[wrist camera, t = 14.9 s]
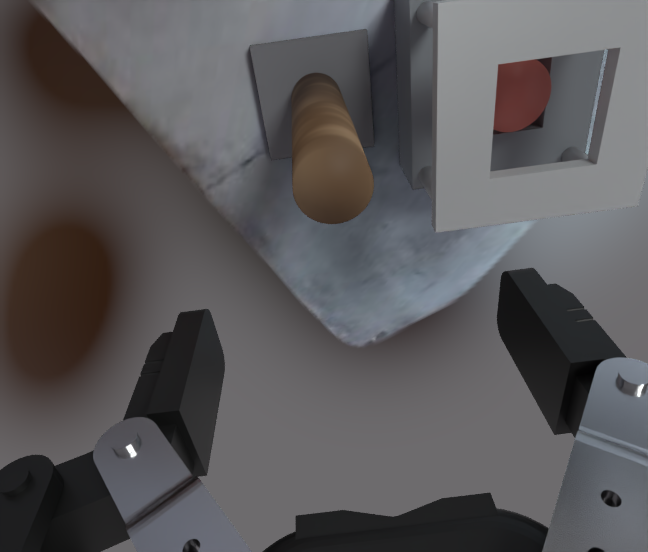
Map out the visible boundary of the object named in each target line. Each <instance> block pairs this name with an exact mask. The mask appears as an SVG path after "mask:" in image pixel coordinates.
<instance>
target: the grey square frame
mask: <svg viewBox="0 0 648 552" xmlns="http://www.w3.org/2000/svg"><path fill="white" fill-rule="evenodd" d="M394 9H395V39H396V69H397V99H398V128H399V158H400V166H401V168H402V170H403V172H404V174H405V176H406V178H407V180H408V181H409V183H410V185H411V187H412V189H413V190H414V189H422V188H425V190H426V191H427V193H428V195H429V197H430V198H431V200H432V227H433V229H434V230H435V232H436V233H438V232H446V231H453V230H461V229H469V228H476V227H484V226H491V225H499V224H507V223H514V222H522V221H529V220H537V219H544V218H552V217H559V216H567V215H575V214H582V213H589V212H598V211H605V210H613V209H620V208H628V207H635V206H638V204H639V200H640V195H641V192H642V188H643V185H644V181H645V177H646V173H647V170H648V0H394ZM606 49H608V54H607V60H606V65H605V70H604V75H603V80H602V86H601V91H600V96H599V101H598V107H597V112H596V117H595V122H594V127H593V133H592V138H591V143H590V148H589V154H588V155H587V154H585V149H586V144H587V139H588V133H589V128H590V123H591V117H592V112H593V107H594V101H595V96H596V90H597V85H598V80H599V74H600V69H601V64H602V58H603V53H604V50H606ZM534 59H535V60H537V61H539V62H541V63H542V64H543V65H544V66H545V68H546V69H547V71H548V72H549V75H550V78H551V94H550V98H549V101H548V103H547V106H546V107H545V109H544V111H543V112H542V113H541V115H540V116H539V117H538V118H537V119H536V120H535V121H534V122H533V123H531V124H530V125H529V126H527V127H525V128H523V129H521V130H518V131H514V132H500V131H496V130H494V129H493V127H494V113H495V100H496V87H497V74H498V64H505V63H512V62H519V61H526V60H534Z"/></svg>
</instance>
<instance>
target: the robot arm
mask: <svg viewBox="0 0 648 552" xmlns="http://www.w3.org/2000/svg"><path fill="white" fill-rule="evenodd" d="M497 324H498V330H499V333H500V336H501V339H502V341H503V342H504V344H505V346H506V348H507V350H508V351H509V353H510V355H511V357H512V359H513V360H514V362H515V364H516V366H517V368H518V370H519V371H520V373H521V375H522V377H523V378H524V380H525V382H526V384H527V386H528V388H529V390H530V391H531V393H532V395H533V397H534V399H535V400H536V402H537V404H538V406H539V408H540V410H541V411H542V413H543V415H544V416H545V419H546V420H547V422H548V424H549V426H550V428H551V429H552V431H553V433H554V435H557V434H565V433H572V434H573V436H574V437H575V441H574V445H573V448H572V452H571V455H570V458H569V462H568V465H567V469H566V472H565V475H564V479H563V483H562V486H561V489H560V492H559V496H558V499H557V503H556V506H555V510H554V513H553V517H552V520H551V523H550V527H549V528H547V527H546V526H544V525H543V524H541V523H539V522H537V521H535V520H532V519H531V518H529V517H526V516H523V515H521V514H518V513H515V512H511V511H507V510H504V509H497V508H496V507H495V504H494V501H493V499H492V496H491V493H484V494H475V495H468V496H458V497H450V498H442V499H439V500H437V501H434V502H432V503H430V504H427V505H424V506H422V507H419V508H417V509H414V510H412V511H409V512H407V513H404V514H402V515H399V516H395V517H390V516H382V515H375V514H368V513H360V512H353V511H346V510H340V511H332V512H324V513H315V514H307V515H298V516H296V532H293V533H291V534H289V535H287V536H285V537H283V538H281V539H279V540H278V541H276V542H275V543H273V544H272V545H270V546H269V547H268V548H266V549H265V550H264V551H263V552H648V364H647V363H645V362H642V361H639V360H635V359H631V358H627V357H626V356H625V355H624V354H623V353H622V352H621V350H620V349H619V348H618V347H617V346H616V344H615V343H614V342H613V341H612V340H611V338H610V337H609V336H608V335H607V334H606V333H605V331H604V330H603V329H602V328H601V326H600V325H599V324H598V323H597V322H596V321H595V320H593V317H592V316H591V315H590V313H589V312H588V311H587V310H585V309H584V306H583V305H582V304H581V303H580V302H579V300H578V299H577V298H576V297H575V296H574V294H572V293H571V292H569V291H567V290H566V289H564V288H562V287H560V286H559V285H557V284H549V285H547V284H546V283H545V281H544V280H543V279H542V277H541V276H540V275H539V274H538V272H537V271H536V270H535V269H534V268H528V269H520V270H512V271H505V272H503V273H502V276H501V282H500V292H499V302H498V312H497ZM224 371H225V362H224V354H223V350H222V347H221V344H220V340H219V338H218V334H217V331H216V328H215V325H214V322H213V319H212V315H211V313H210V311H209V310H208V309H203V310H196V311H188V312H181V313H180V314H179V315H178V318H177V321H176V325H175V327H174V330H173V332H168V333H163V334H162V335H161V336H160V337H159V338H158V339H157V340H156V341H155V343H154V344H153V345H152V346H151V347H150V350H149V353H148V355H147V358H146V360H145V364H144V366H143V369H142V371H141V377H139V379H138V382H137V384H136V387H135V390H134V393H133V395H132V398H131V400H130V403H129V406H128V409H127V411H126V414H125V417H124V419H123V421H121V422H119V423H117V424H115V425H114V426H112V427H111V428H110V429H108V430H107V431H106V432H105V433H104V434H103V435H102V436H101V438H100V439H99V440H98V442H97V444H96V446H95V448H94V450H93V451H92V452H89V453H87V454H85V455H82V456H80V457H77V458H74V459H72V460H69V461H67V462H64V463H61V464H59V465H56V466H54V464H53V463H52V462H51V460H50V459H49V458H47V457H46V456H43V455H30V456H26V457H23V458H20V459H18V460H15V461H14V462H12V463H10V464H8V465H7V466H5V467H4V468H3V469H1V470H0V552H101V551H103V550H105V549H108V548H110V547H112V546H114V545H117V544H119V543H121V542H123V541H126V540H128V539H130V538H131V540H132V542H133V544H134V546H135V548H136V550H137V552H252V551H251V550H250V548H249V547H248V545H247V544H246V543H245V541H244V540H243V538H242V537H241V536H240V534H239V533H238V532H237V530H236V529H235V527H234V526H233V525H232V523H231V522H230V521H229V519H228V518H227V516H226V515H225V513H224V512H223V511H222V509H221V508H220V506H219V505H218V504H217V502H216V501H215V500H214V498H213V497H212V495H211V494H210V493H209V491H208V490H207V488H206V487H205V486H204V484H203V483H202V482H201V480H200V479H199V478H198V476H206V475H207V472H208V466H209V460H210V453H211V448H212V443H213V437H214V430H215V425H216V419H217V413H218V407H219V401H220V395H221V390H222V383H223V378H224Z"/></svg>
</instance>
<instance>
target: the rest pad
mask: <svg viewBox="0 0 648 552" xmlns="http://www.w3.org/2000/svg"><path fill="white" fill-rule="evenodd" d="M250 51H251V57H252V62H253V67H254V73H255V78H256V83H257V89H258V94H259V99H260V105H261V110H262V115H263V121H264V126H265V131H266V137H267V142H268V147H269V153H270V158H271V160H276V159H283V158H291V157H292V102H291V99H292V91H293V89H294V86H295V85H296V83H297V82H298V81H299V80H300V79H301V78H302V77H303V76H305V75H307V74H310V73H323V74H326V75H328V76H330V77H331V78H332V79H333V80H334V81H335V82H336V83H337V85H338V86H339V89H340V91H341V94H342V96H343V99H344V102H345V104H346V107H347V109H348V112H349V114H350V117H351V120H352V122H353V125H354V127H355V130H356V133H357V135H358V138H359V140H360V143H361V146H362V148H364V147H372V146H374V133H373V117H372V101H371V85H370V69H369V53H368V37H367V30H366V29H363V30H356V31H349V32H342V33H335V34H327V35H320V36H313V37H306V38H299V39H292V40H285V41H278V42H271V43H264V44H256V45H250Z"/></svg>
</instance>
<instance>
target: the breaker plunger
mask: <svg viewBox="0 0 648 552" xmlns="http://www.w3.org/2000/svg"><path fill="white" fill-rule="evenodd" d="M550 94H551V78H550V75H549V72H548V71H547V69H546V68H545V66H544V65H543V64H542V63H541V62H539V61H537V60H535V59H534V60H526V61H519V62H512V63H505V64H498V74H497V87H496V100H495V113H494V127H493V129H494V130H496V131H500V132H514V131H518V130H521V129H523V128H525V127H527V126H529V125H530V124H531V123H533V122H534V121H535V120H536V119H537V118H538V117H539V116H540V115H541V113H542V112H543V111H544V109H545V107H546V106H547V103H548V101H549V98H550Z"/></svg>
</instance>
